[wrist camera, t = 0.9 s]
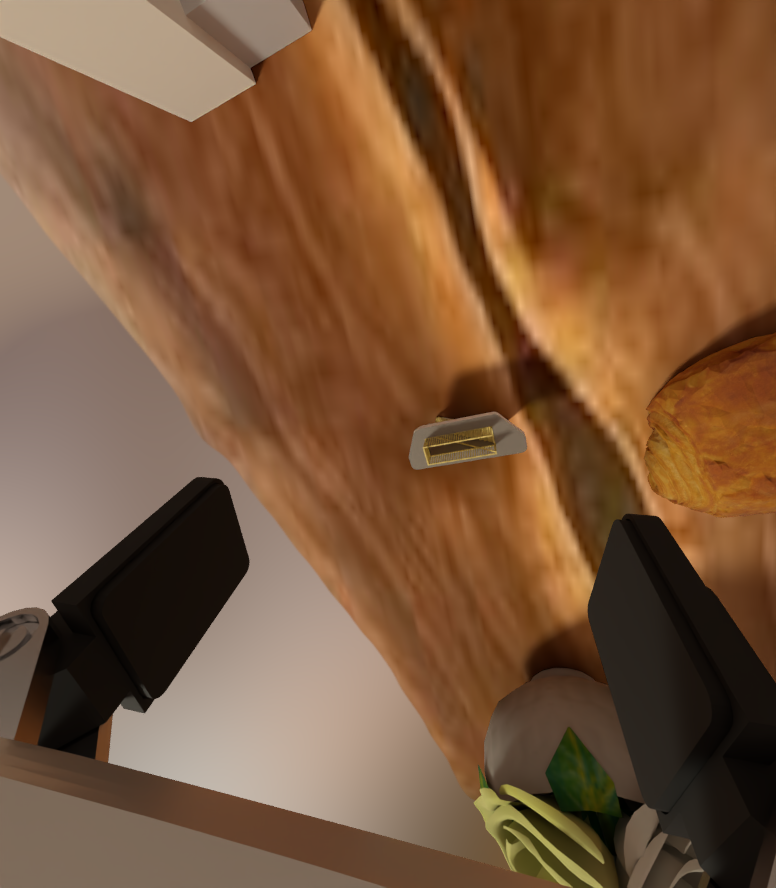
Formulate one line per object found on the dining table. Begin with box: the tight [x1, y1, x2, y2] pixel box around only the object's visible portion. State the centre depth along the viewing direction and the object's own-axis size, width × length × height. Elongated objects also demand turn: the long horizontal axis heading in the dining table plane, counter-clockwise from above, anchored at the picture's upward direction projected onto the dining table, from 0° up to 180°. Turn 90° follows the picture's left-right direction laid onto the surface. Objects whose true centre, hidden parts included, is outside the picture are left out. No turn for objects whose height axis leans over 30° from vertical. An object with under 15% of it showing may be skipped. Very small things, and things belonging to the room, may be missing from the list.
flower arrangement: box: [474, 668, 704, 888], centre depth 40 cm, size 25×25×24 cm
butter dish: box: [409, 412, 527, 470], centre depth 33 cm, size 12×18×7 cm, turn 107°
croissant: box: [644, 332, 776, 518], centre depth 29 cm, size 14×16×8 cm
